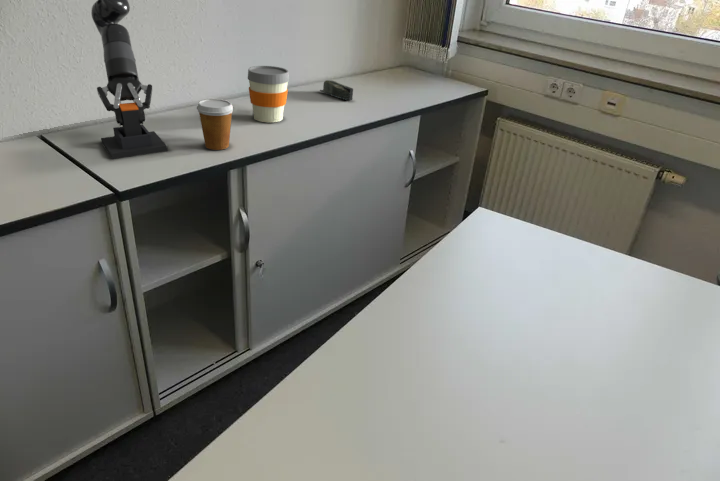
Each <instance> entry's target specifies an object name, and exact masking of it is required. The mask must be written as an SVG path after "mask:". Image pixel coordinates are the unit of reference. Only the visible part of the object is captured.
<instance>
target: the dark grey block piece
mask: <svg viewBox="0 0 720 481" xmlns="http://www.w3.org/2000/svg"><path fill="white" fill-rule="evenodd" d="M319 92H321V93H324V94H327V95H329V96H333V97H335V98H337V99H340V100H342V101H348V102H349V101H353V96H354V95H353V94H354V88H353V87H351V86H348V85H345V84H343V83H341V82H337V81H335V80H331V79H327V80H324V81H323V88H322V89H319Z"/></svg>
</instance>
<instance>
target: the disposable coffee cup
mask: <svg viewBox="0 0 720 481" xmlns="http://www.w3.org/2000/svg"><path fill="white" fill-rule="evenodd" d="M232 104H233V103H232V102H231V101H230V100H226V99H222V98H207V99H201V100H200V101H198V103H197V106H196V110H197V112H198V115H199V121H200V125H201V130H202V135H203V136H202V137H203V141H204V145H205V148H206V149H209V150H212V151H220V150H221V151H222V150H226V149H228V148H229V147H230V138H231V127H232V117H233V116H232V114H233V111H234V110H235V109H234V107H233V105H232Z"/></svg>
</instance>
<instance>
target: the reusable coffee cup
mask: <svg viewBox="0 0 720 481" xmlns="http://www.w3.org/2000/svg"><path fill="white" fill-rule="evenodd" d="M247 80H248V82H249V86H248V93H249V100H250V104H252V105H251V106H252V112H253V119H254V120H256V121H258V122H260V123H278V122H282V121H283V119H284V111H285V106H286V104H287V98H288V93H289V89H288V84H289V83H288V82H289V81H290V76H289V70H288V69H286V68H284V67H280V66H275V65H273V66H272V65H255V66H250V67H249V68H248V70H247Z"/></svg>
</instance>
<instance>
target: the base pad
mask: <svg viewBox="0 0 720 481" xmlns="http://www.w3.org/2000/svg"><path fill="white" fill-rule="evenodd" d="M112 130H113V135H114V136H113V135H112V136H105V137H101V138H100V141H101V144H102V146H103V147H104V150H106V152H107V154H108V155H109V157H110V158H111V160H114V159H115V160H116V159H117V160H118V159H122V158H123V159H124V158H129V157H130V158H131V157H136V156H142V155H144V156H145V155H149V154H156V153H163V152H168V145H167V144H166V143H165V142H164V141H163V139H162V138H161V137H160V136H159V135H158V133H156V131H155V130H152V131H149V129H148V128H146V126H145V125H144V123H143V124H141V131H142V135H136V136H128V137H125V135H124V133H123V127H122V126H117V127H116V126H115V127H113V128H112Z"/></svg>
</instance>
